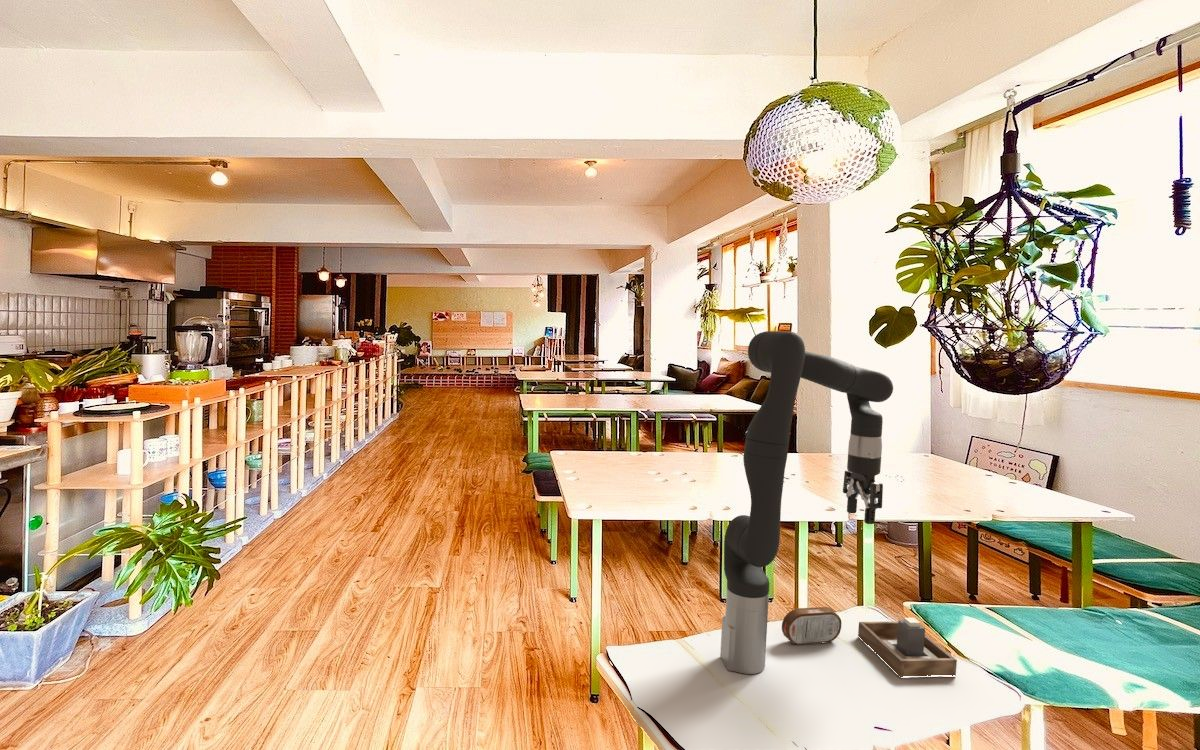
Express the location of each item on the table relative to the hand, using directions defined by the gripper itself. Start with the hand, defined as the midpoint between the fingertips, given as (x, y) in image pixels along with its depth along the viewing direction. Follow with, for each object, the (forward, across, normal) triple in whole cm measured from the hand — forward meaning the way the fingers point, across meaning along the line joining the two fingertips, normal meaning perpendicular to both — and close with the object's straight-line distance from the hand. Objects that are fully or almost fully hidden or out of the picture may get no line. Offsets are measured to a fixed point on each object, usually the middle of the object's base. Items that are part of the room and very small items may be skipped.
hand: (860, 518), depth 150 cm
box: (+30, +10, +8) cm, 32 cm away
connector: (+29, +12, +8) cm, 32 cm away
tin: (+30, +3, -12) cm, 33 cm away
